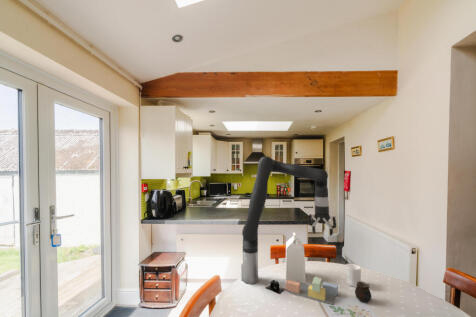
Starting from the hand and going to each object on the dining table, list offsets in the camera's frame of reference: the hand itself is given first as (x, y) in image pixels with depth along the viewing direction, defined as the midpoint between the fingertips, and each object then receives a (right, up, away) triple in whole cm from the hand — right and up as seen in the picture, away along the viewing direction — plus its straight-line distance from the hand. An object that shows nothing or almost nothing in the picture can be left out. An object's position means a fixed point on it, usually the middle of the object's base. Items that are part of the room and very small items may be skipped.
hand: (322, 234), depth 122 cm
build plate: (-27, -31, 0) cm, 41 cm away
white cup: (+20, -31, +4) cm, 37 cm away
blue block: (+2, -30, -5) cm, 30 cm away
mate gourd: (+17, -30, -11) cm, 36 cm away
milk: (-12, -31, +14) cm, 36 cm away
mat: (-7, -30, -4) cm, 31 cm away
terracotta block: (-17, -30, -2) cm, 34 cm away
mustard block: (-6, -29, -8) cm, 31 cm away
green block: (-6, -25, -8) cm, 27 cm away
